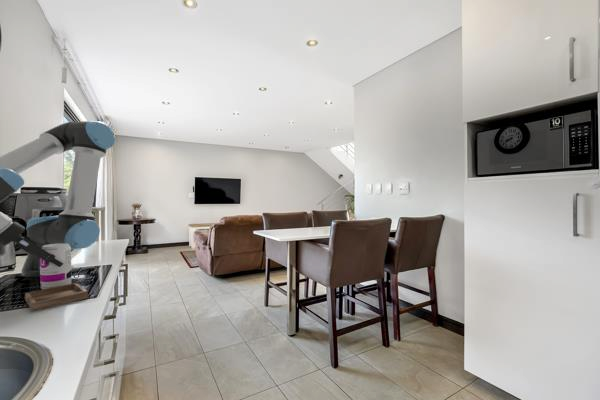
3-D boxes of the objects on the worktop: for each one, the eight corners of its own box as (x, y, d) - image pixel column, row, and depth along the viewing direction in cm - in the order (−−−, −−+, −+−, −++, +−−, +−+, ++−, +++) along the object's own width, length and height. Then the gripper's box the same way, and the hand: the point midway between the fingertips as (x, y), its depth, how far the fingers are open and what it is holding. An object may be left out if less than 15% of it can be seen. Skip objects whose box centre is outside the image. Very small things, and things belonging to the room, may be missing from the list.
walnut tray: (25, 300, 84) (24, 293, 84) (76, 288, 94) (76, 282, 94) (32, 311, 77) (32, 303, 76) (87, 297, 87) (87, 291, 86)
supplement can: (53, 292, 91) (52, 247, 91) (34, 290, 93) (33, 246, 92) (77, 284, 99) (76, 243, 99) (59, 282, 101) (58, 242, 100)
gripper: (-15, 234, 91) (47, 269, 103) (-7, 244, 76) (64, 283, 88) (8, 217, 95) (64, 253, 107) (20, 223, 80) (84, 263, 92)
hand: (64, 266), depth 98 cm, fingers open, 13 cm apart
